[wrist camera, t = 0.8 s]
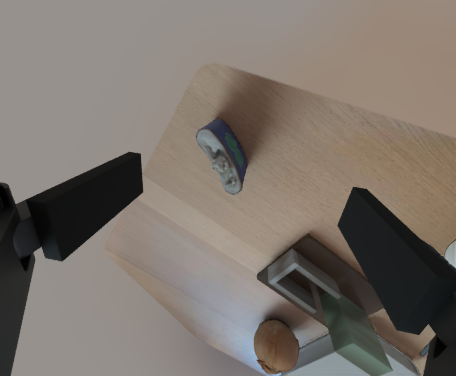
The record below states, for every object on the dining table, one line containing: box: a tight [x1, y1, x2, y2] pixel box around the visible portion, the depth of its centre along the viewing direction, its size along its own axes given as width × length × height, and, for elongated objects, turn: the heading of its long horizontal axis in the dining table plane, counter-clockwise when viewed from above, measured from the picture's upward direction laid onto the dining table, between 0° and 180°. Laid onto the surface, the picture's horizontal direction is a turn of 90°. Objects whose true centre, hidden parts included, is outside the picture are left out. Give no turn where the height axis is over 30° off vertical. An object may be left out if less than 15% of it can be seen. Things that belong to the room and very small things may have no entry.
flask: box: [196, 119, 247, 195], centre depth 29 cm, size 9×3×11 cm, turn 29°
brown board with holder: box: [257, 234, 393, 376], centre depth 37 cm, size 14×22×11 cm, turn 53°
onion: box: [254, 319, 299, 374], centre depth 45 cm, size 10×9×10 cm
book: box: [280, 334, 421, 376], centre depth 50 cm, size 18×4×24 cm
